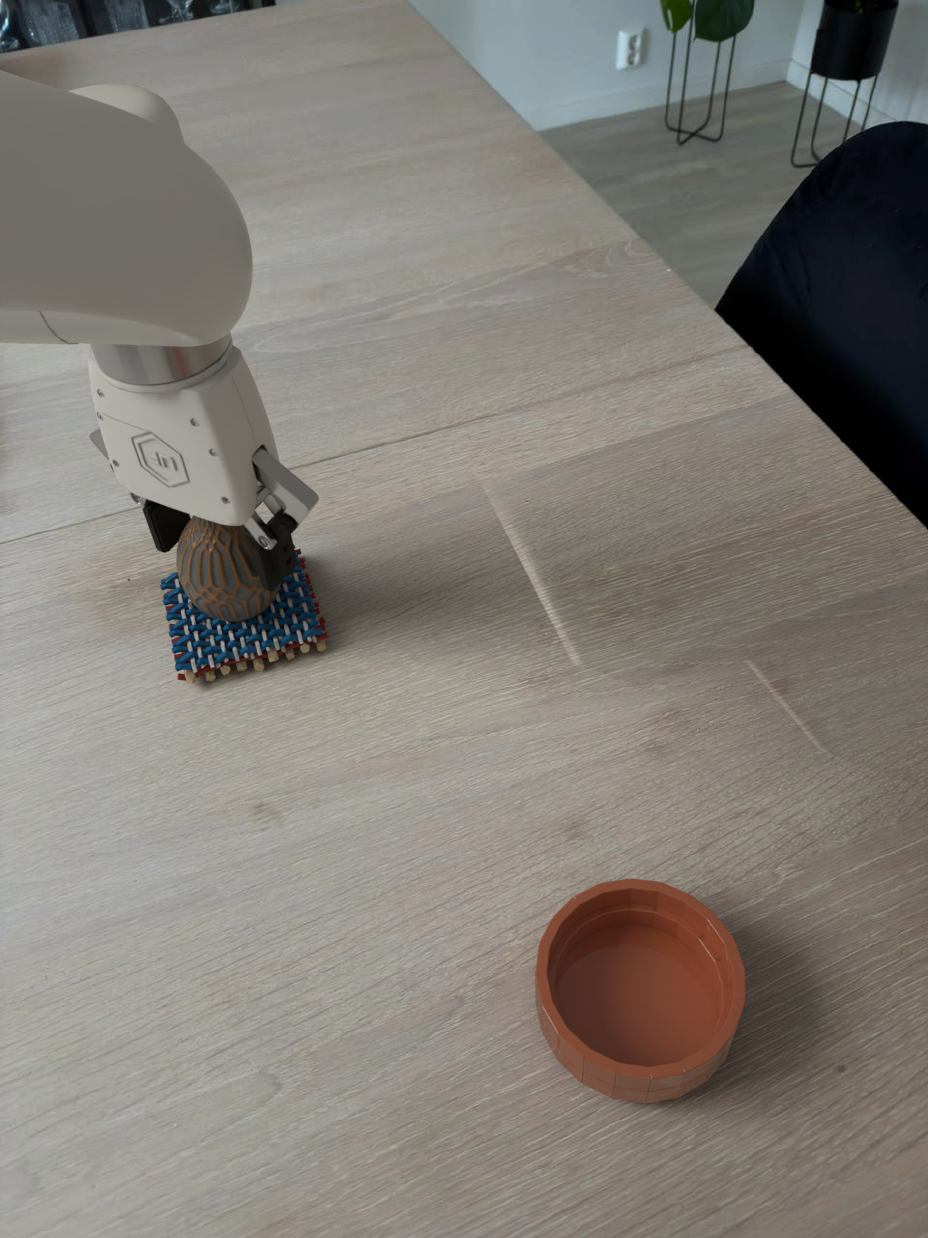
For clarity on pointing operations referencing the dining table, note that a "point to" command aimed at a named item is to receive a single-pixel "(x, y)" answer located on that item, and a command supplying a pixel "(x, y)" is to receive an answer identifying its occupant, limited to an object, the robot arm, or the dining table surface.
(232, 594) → the vase
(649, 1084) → the bowl
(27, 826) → the dining table surface
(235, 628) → the woven mat
